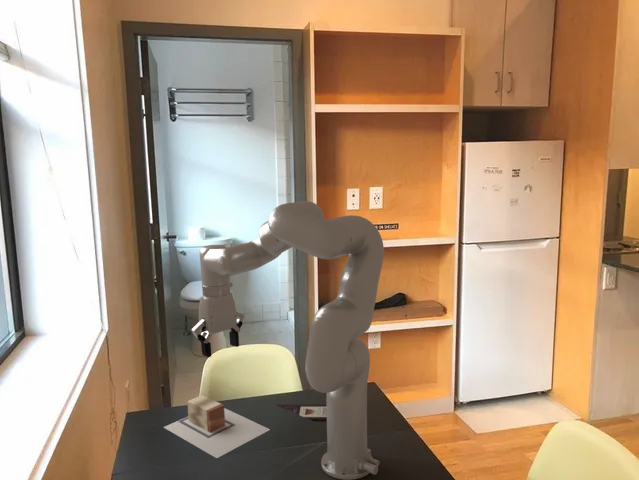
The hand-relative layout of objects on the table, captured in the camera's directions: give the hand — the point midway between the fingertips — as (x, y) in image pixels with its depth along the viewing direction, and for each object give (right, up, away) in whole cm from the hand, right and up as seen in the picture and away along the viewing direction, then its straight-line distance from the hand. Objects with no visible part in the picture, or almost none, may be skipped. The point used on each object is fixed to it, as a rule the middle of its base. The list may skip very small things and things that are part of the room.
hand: (221, 350), depth 144 cm
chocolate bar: (+22, -20, +8) cm, 31 cm away
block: (-4, -21, +2) cm, 21 cm away
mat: (-1, -22, -1) cm, 22 cm away
